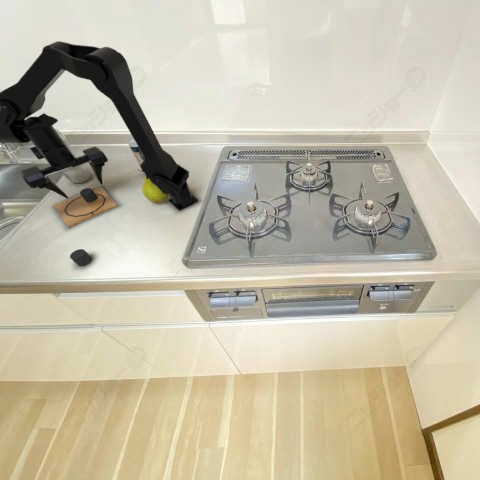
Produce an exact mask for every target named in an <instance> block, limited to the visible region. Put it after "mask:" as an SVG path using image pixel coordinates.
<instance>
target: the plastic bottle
mask: <svg viewBox="0 0 480 480" xmlns="http://www.w3.org/2000/svg"><path fill="white" fill-rule="evenodd" d="M54 129H55V130H56V132H57V133H58V134H59V136H60V137H61V139H62V140H63V141H64V143H65V144H66V146H67V147H68V148H69V150H70V151H71V153H72V154H73V156H74V157H75V158H77V157H78V156H77V155H76V153H75V152H74V150H73V148H72V147H71V145H70V143H69V141H68V138H67V137H66V136H65V134H64V133H63V132H62V131H61V130H59V129H57V128H55V127H54ZM61 172H62V174H63V176H64V178H65V179H67V181H69V182H71V183H74V184H79V183H80V184H81V183H84V182H87V181H88V180H89V179H90V178H91V177H92V176H91V175H92V173H91V170H90V169H89V167H88V166H87V165H86V164H85V163H84V164H81V165H78V166H76V167H73V168H70V169H67V170H64V171H61Z"/></svg>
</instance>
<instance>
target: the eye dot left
mask: <svg viewBox="0 0 480 480" xmlns="http://www.w3.org/2000/svg"><path fill="white" fill-rule="evenodd" d="M69 258H70V259H71V261H73V263H75V265H77V266H78V267H81V268H82V267H86V266H88V265H89V264H91V262H92V261H93V257H91V255H90V254H89V253H88V252H87V251H86V250H85V249H83V248H79V249H76V250H74V251H72V252H71V253H70V255H69Z"/></svg>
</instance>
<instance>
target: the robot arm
mask: <svg viewBox="0 0 480 480" xmlns="http://www.w3.org/2000/svg"><path fill="white" fill-rule="evenodd" d="M65 72H68V73H69V74H71V75H73V76H75V77H76V78H79V79H82V80H83V79H84V80H88V81H90V82H91V83H92V84H93V86H94V87H95V88H96V89H97V91H99V92H100V93H102V94H103V95H104V96H105V97H106V98H108V99H110V101H111V102H112V104H113V106H114V107H115V109H116V110H117V113H118V114H119V116H120V118H121V119H122V121H123V122H124V124H125V126H126V128H127V129H128V131H129V133H130V134H131V136H132V138H134V140H135V141H136V143H137V145H138V147H139V148H140V150H141V152H142V154H143V155H144V158H145V160H144V161H143V162H142V164H141V165H139V167H140V170H143V172H142V173H143V174H144V173H145V174H144V175H145V177H146V178H147V179H150V181H151V182H152V183H153V184H155V185H156V186H157V187H158V188H159V189H160V190H161V191H162V192H163V193H164V194H169V195H168V196H169V197H170V199H168V201H169V203H170V204H171V205H172V206H173V207H174V208H175V209H176V210H178V211H182V210H184V209H186V208H188V207H191V206H192V205H194V204H196V203H198V202H199V198H197V197H196V196H195V195H193V194H192V191H191V189H190V187H189V184H188V182H187V181H188V179H189V177H190V171H189V170H188V169H186V168H184V167H183V166H181V165H180V164H178V163H177V161H175V159H174V157H173V156H172V155H171V154H170V153H168V152H167V151H166V150H164V149H163V147H162V146H161V144H160V142H159V140H158V138H157V136H156V133H155V132H154V130H153V128H152V127H151V124H150V123H149V120H148V119H147V116H146V115H145V113H144V111H143V109H142V107H141V105H140V103H139V101H138V99H137V97H136V95H135V92H134V81H133V76H132V73H131V70H130V67H129V64H128V62H127V59H126V57H124V55H123V54H122V53H121V52H119V51H117V50H116V49H114V48H112V47H109V46H103V47H97V46H93V45H83V44H73V43H69V42H65V41H59V40H58V41H57V40H56V41H55V42H52V43H50V44H48V45H45V46H43V48H42V50H41V52H40V54H39V56H38V57H37V58H36V59H35V60H34V61H33V63H32V64H31V65H30V66H29V68H28V69H27V70H25V72H24V74H23V75H22V76H21V77H20V79H19V80H18V81H17V82H15V83H13V85H10V86H9V87H7V88H4V90H1V91H0V144H1V143H2V144H4V143H6V144H27V143H30V142H31V143H32V144H33V145H34V146H33V147H30V148H29V150H30V151H31V152H32V153H33V155H34V156H35V157H36V158H37V160H42V159H45V160H46V162H47V163H48V164H49V165H50V166H48V167H45V168H42V169H41V168H39V166H37V165H34V166H32V167H28V168H25V169H23V170H20V173H19V174H20V176H21V178H22V179H23V181H24V183H26V185H28V187H29V188H30V189H37V188H38V189H41V190H42V189H46V190H49V191H52V192H54V193H56V194H58V195H59V196H61V197H63V198H65V199H66V200H68V199H69V196H68V195H67V194H66V192H65V191H64V190H62V189H61V188H60V187H59V186H58V185H57V184H56V183H55V182H54V181H53V180H52V179H51V178H50V177H49V176H52V175H55V174H58V173H61V172H62V171H64V170H67V169H70V168H73V167H76V166H78V165H81V164H84V165H85V164H87V163H88V164H89V166H90V168H91V169H92V171H93V173H94V176H95V178H96V180H97V181H98V182H99V184H100V186H103V185H104V182H103V167H105V166H106V163H107V162H108V161H109V159H108V157H107V156H106V154H105V153H104V152H103V150H102V149H100V147H97V146H92V147H89V148H86V149H83V150H82V153H83V155H81V156H77V158H75V157H74V156H73V154H72V153H71V151H70V150H69V148H68V147H67V146H66V144H65V143H64V141H63V140H62V139H61V137H60V136H59V134H58V133H57V132H56V130H55V129H56V128H55V127H54V125H56V123H58V122H59V120H58V118H56V117H53V116H50V115H48V114H46V113H45V112H44V113H42V114H40V115H38V116H32V115H34V114H35V113H37V112H39V111H41V110H42V108H43V106H44V104H45V102H46V94H47V92H48V91H49V90H50V89H51V87H52V86H53V85H54V84H55V83H56V82H57V81H58V80H59V79H60V77H61V76H62V75H63V74H64V73H65ZM54 128H55V129H54Z"/></svg>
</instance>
